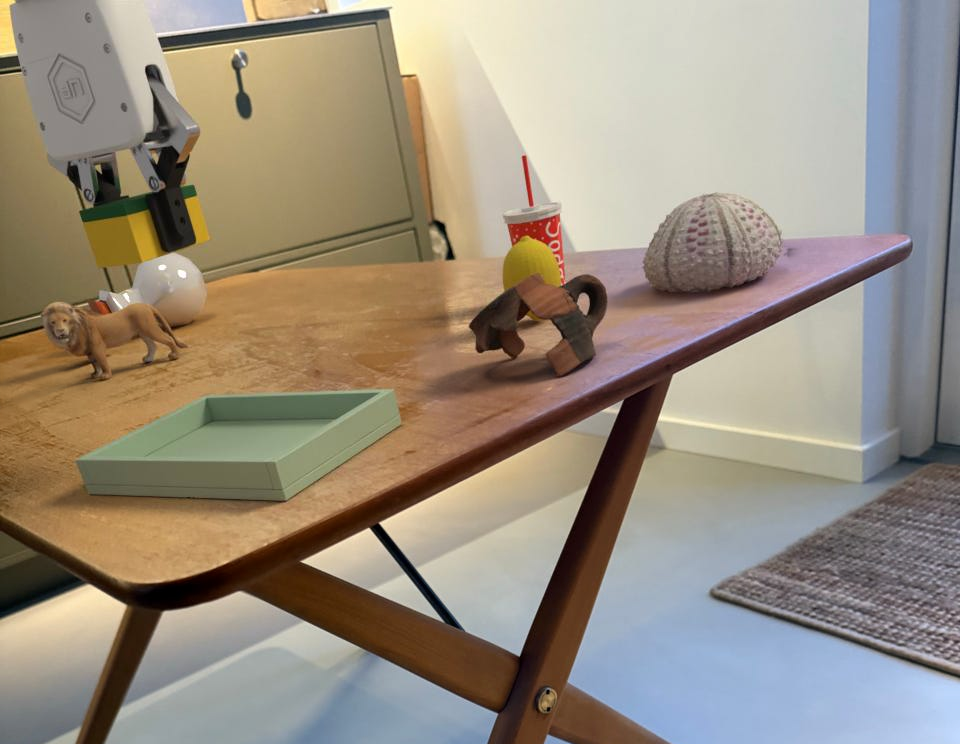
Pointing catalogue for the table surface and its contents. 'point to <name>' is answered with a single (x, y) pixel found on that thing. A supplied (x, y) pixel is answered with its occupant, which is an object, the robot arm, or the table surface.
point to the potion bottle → (161, 290)
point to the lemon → (530, 265)
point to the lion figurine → (106, 332)
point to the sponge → (133, 229)
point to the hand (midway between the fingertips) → (153, 248)
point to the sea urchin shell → (712, 244)
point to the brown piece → (544, 318)
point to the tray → (242, 445)
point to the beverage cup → (537, 223)
